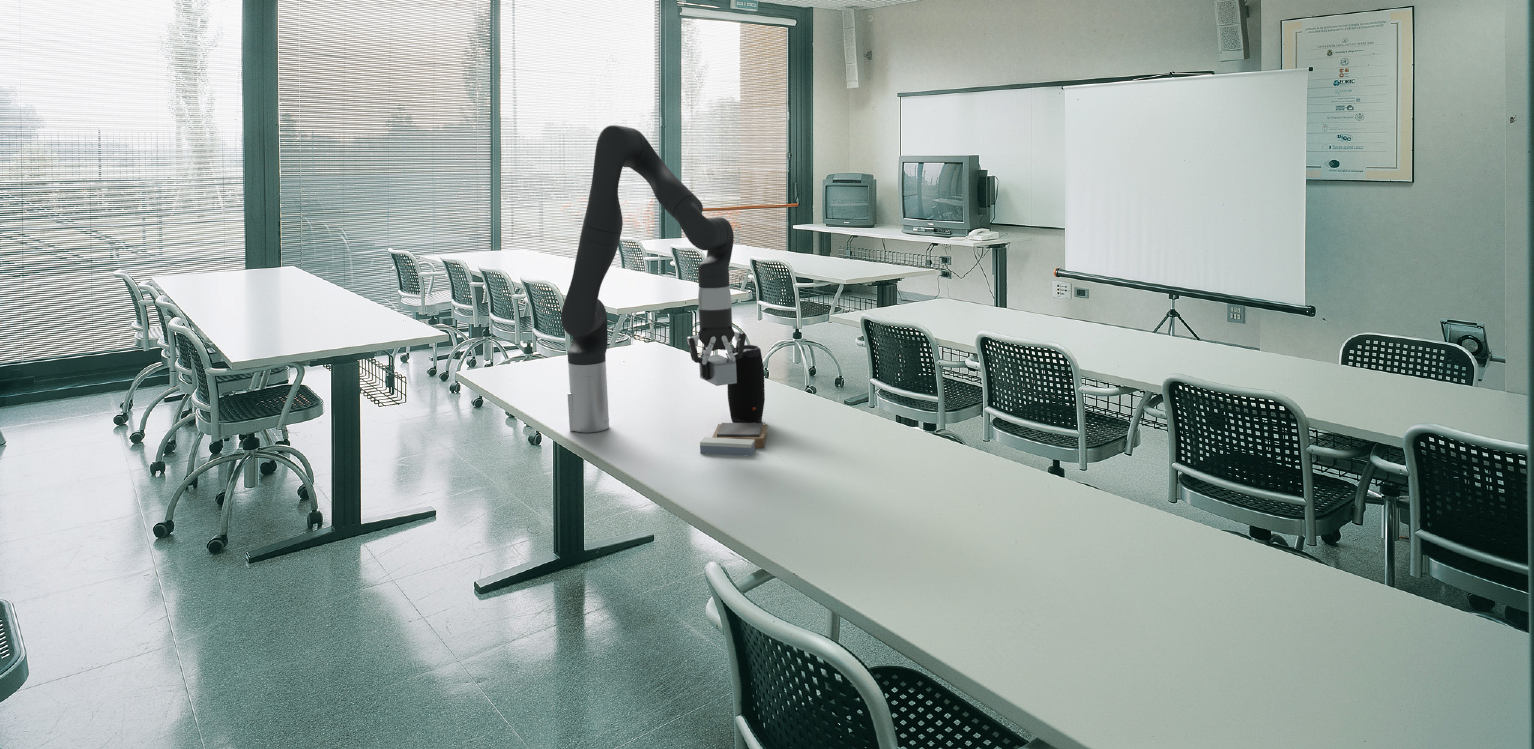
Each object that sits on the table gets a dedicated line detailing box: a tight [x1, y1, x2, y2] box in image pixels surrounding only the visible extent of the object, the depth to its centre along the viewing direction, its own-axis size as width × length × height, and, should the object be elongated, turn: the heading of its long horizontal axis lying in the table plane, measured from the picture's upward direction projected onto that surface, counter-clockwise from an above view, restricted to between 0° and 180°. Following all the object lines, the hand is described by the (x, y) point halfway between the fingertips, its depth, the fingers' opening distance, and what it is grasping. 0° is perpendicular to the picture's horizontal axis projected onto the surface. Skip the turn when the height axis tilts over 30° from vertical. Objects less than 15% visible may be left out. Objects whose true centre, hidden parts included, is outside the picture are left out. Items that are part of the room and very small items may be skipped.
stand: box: [711, 422, 768, 449], centre depth 228 cm, size 12×12×3 cm
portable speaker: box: [727, 344, 766, 423], centre depth 242 cm, size 9×9×20 cm
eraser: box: [699, 436, 756, 457], centre depth 219 cm, size 12×4×3 cm, turn 78°
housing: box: [698, 354, 737, 387], centre depth 222 cm, size 10×5×5 cm, turn 27°
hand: (718, 378), depth 222 cm, fingers closed on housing, 5 cm apart
